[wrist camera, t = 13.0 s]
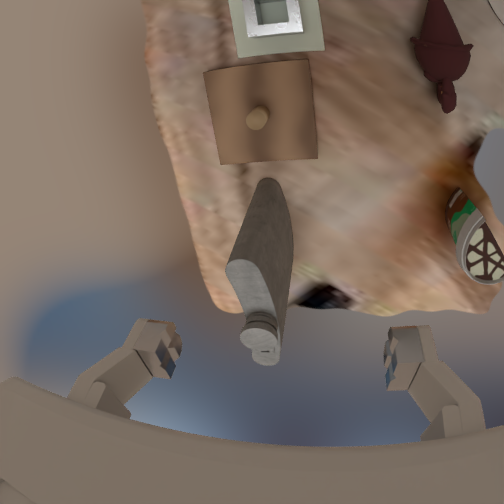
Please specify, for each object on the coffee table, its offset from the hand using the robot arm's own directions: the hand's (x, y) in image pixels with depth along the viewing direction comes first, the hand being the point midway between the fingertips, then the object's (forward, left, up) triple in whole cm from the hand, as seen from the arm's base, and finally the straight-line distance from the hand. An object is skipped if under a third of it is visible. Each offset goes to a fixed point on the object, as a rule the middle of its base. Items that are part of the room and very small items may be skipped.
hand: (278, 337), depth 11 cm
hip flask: (+5, +15, -31) cm, 35 cm away
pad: (+2, -14, -31) cm, 34 cm away
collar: (+2, -14, -31) cm, 34 cm away
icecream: (-17, -11, -31) cm, 37 cm away
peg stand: (+5, -2, -31) cm, 31 cm away
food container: (-22, +14, -31) cm, 41 cm away
